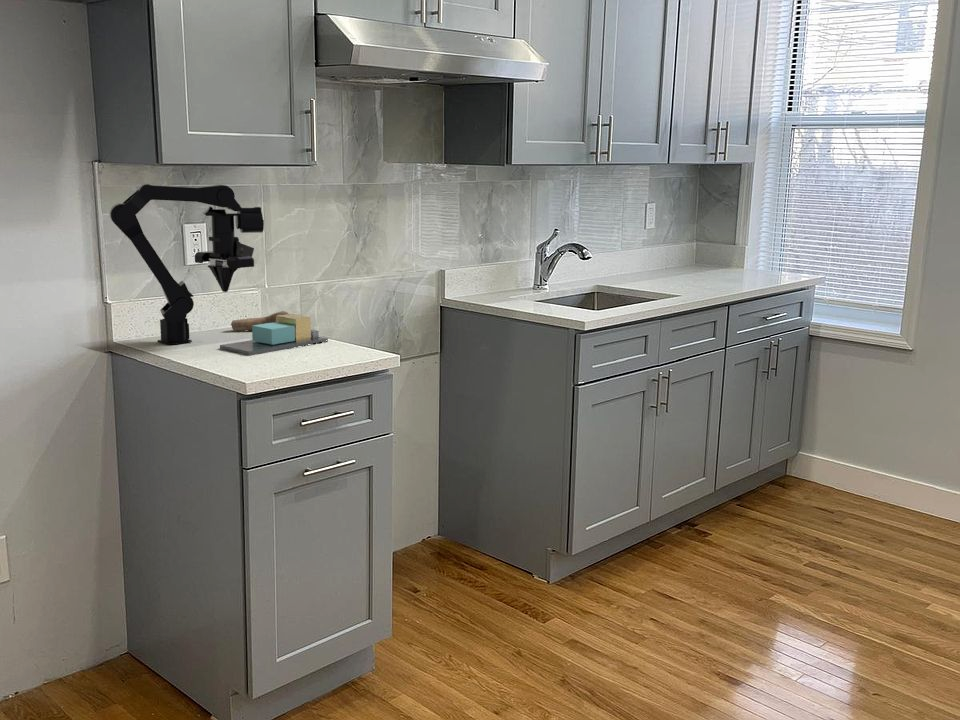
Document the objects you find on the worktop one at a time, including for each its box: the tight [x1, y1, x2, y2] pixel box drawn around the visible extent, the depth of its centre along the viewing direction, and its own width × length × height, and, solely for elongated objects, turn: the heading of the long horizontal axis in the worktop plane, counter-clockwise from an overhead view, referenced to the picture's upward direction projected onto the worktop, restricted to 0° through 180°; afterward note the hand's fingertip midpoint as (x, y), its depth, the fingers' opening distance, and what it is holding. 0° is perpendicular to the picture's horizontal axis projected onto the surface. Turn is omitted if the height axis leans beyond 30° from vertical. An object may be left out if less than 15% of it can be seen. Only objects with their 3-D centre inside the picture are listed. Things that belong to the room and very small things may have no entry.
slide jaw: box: [251, 322, 295, 345], centre depth 248 cm, size 8×8×4 cm
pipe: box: [230, 310, 290, 332], centre depth 268 cm, size 6×17×10 cm
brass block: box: [276, 313, 312, 342], centre depth 252 cm, size 8×5×6 cm, turn 51°
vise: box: [219, 328, 329, 356], centre depth 248 cm, size 26×12×3 cm, turn 141°
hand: (225, 291), depth 252 cm, fingers closed
